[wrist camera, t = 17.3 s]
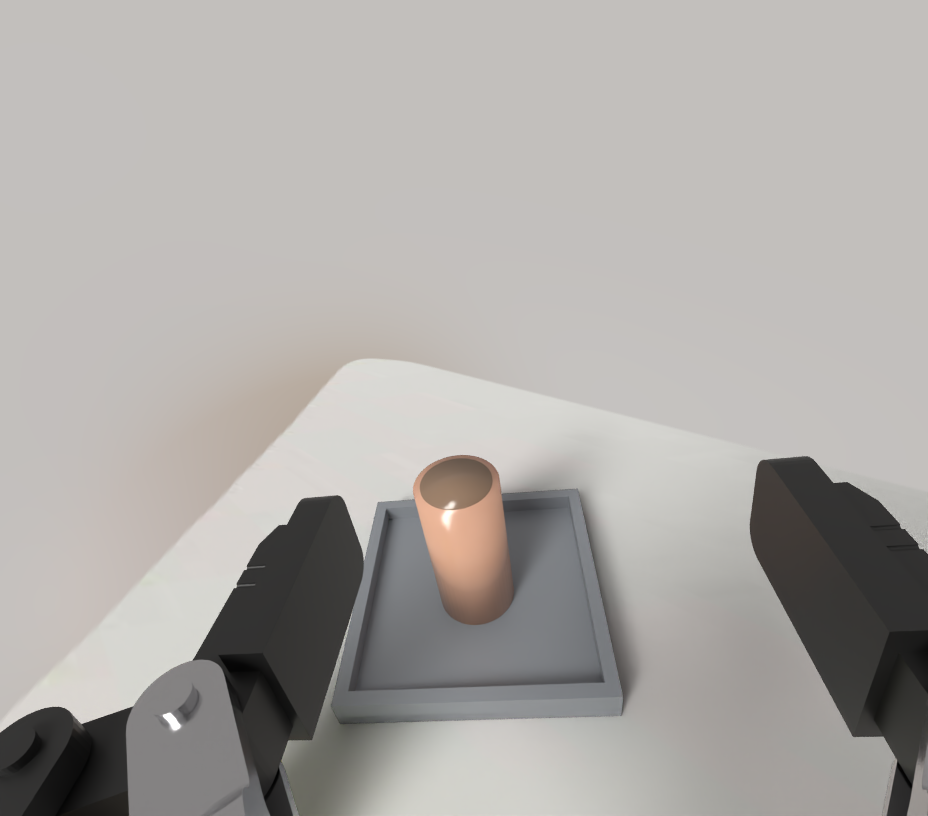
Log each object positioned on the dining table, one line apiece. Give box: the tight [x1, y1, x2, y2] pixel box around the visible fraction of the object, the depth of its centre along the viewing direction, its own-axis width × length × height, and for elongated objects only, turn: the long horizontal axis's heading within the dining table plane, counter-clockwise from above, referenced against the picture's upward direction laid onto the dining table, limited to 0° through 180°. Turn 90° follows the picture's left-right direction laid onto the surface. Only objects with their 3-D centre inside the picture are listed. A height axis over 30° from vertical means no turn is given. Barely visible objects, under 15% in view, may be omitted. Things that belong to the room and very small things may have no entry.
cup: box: [413, 455, 514, 625], centre depth 33 cm, size 5×5×10 cm
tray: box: [331, 489, 623, 724], centre depth 36 cm, size 16×16×2 cm
